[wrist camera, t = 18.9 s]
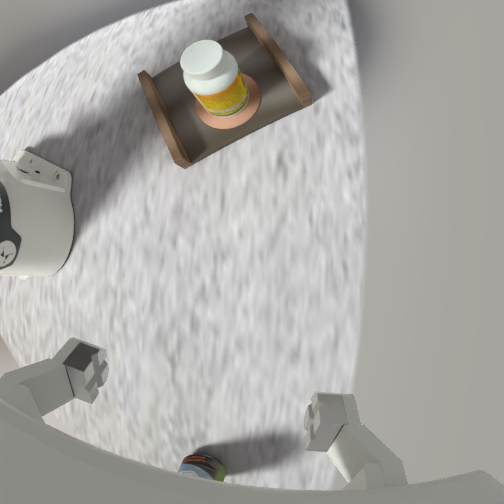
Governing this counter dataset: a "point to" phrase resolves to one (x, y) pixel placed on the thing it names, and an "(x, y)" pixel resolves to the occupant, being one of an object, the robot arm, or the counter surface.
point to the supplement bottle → (214, 78)
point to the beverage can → (203, 467)
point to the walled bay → (235, 127)
